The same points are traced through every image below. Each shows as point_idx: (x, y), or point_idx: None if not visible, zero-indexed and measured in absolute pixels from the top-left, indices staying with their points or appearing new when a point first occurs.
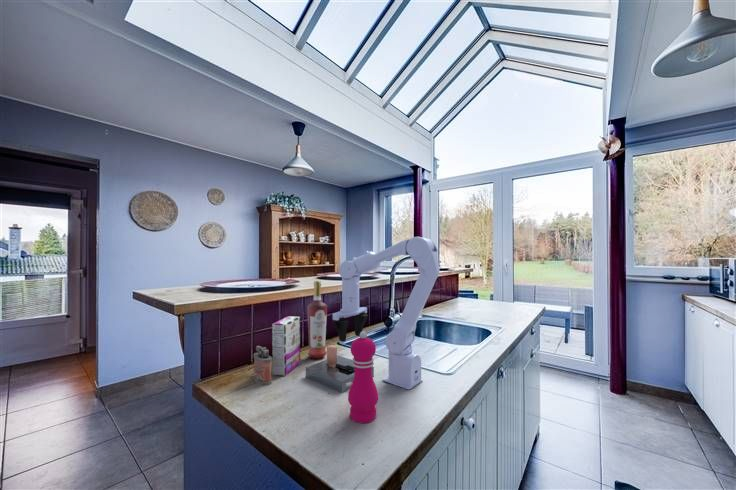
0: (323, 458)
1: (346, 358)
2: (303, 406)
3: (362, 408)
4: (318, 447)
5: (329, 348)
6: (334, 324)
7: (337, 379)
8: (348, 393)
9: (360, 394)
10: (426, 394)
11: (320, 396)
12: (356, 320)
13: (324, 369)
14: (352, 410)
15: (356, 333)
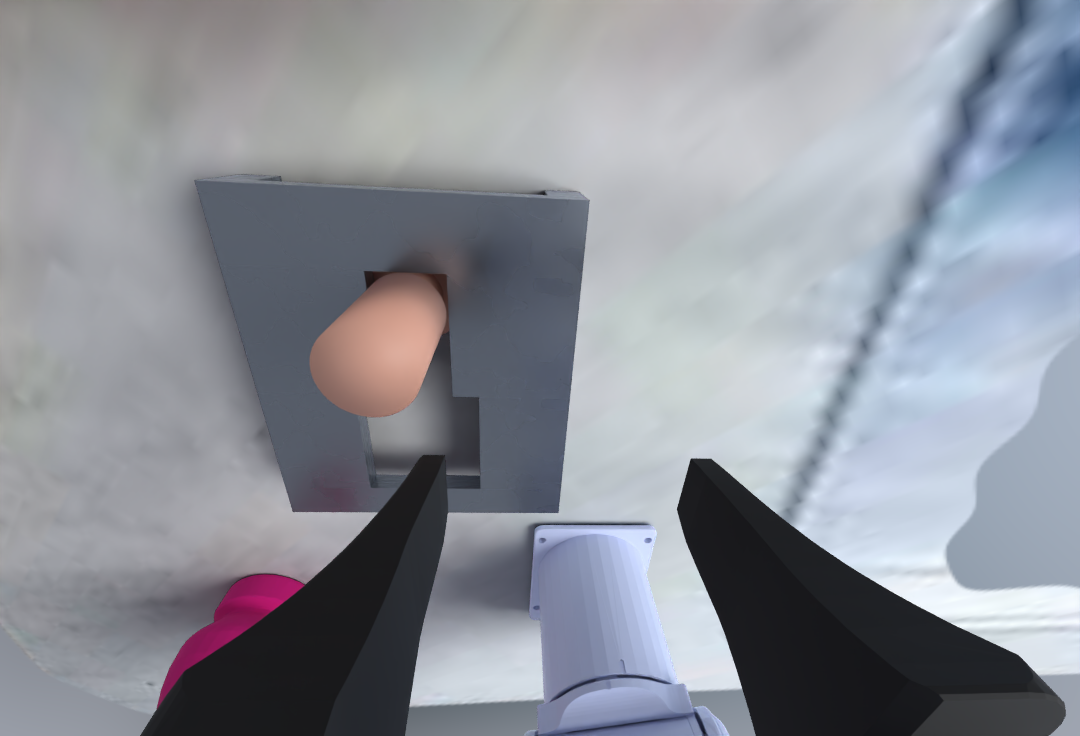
0: (62, 635)
1: (572, 311)
2: (92, 435)
3: None
4: (64, 608)
5: (316, 384)
6: (258, 627)
7: (288, 481)
8: (177, 660)
9: None
10: (541, 649)
11: (208, 427)
12: (794, 650)
13: (305, 333)
14: (217, 619)
15: (698, 488)
